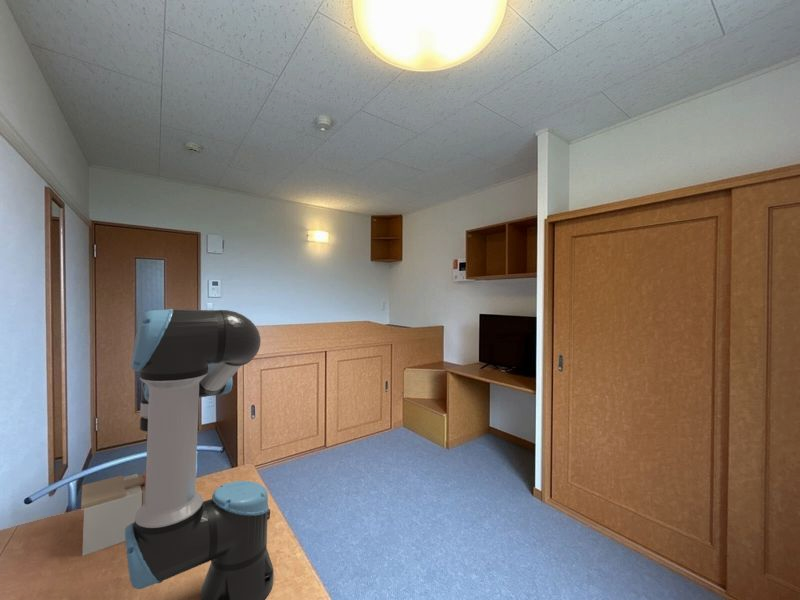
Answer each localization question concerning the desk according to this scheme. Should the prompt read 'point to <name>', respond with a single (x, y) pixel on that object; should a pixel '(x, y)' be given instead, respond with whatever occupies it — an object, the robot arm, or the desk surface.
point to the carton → (111, 519)
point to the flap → (108, 489)
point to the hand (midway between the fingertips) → (153, 490)
